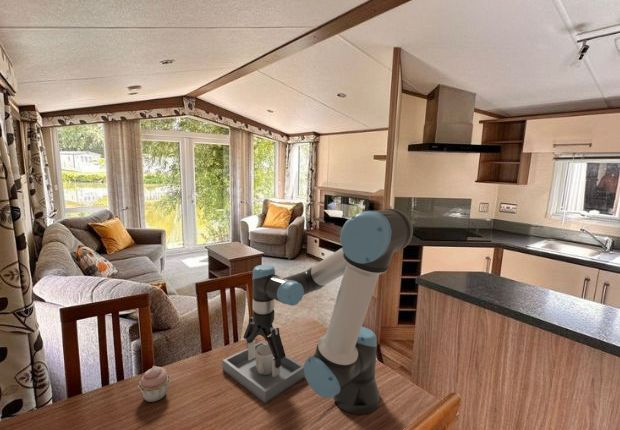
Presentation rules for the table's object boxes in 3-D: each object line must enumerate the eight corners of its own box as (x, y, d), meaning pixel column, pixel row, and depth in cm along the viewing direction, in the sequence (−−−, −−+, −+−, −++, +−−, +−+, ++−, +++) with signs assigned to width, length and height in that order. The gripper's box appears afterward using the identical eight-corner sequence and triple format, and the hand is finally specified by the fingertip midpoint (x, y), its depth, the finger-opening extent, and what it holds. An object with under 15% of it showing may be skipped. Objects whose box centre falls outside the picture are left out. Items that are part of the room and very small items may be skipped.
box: (305, 377, 110) (305, 366, 110) (265, 403, 97) (265, 391, 97) (261, 350, 126) (261, 341, 126) (222, 370, 113) (222, 359, 113)
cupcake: (157, 382, 106) (156, 354, 105) (177, 391, 102) (176, 362, 101) (131, 399, 98) (130, 369, 96) (151, 410, 94) (150, 379, 92)
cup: (270, 384, 105) (270, 362, 104) (248, 381, 107) (248, 359, 106) (280, 365, 116) (280, 345, 115) (259, 362, 117) (259, 342, 116)
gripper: (296, 317, 103) (295, 377, 106) (250, 296, 120) (250, 348, 123) (279, 325, 98) (278, 388, 100) (233, 302, 114) (234, 356, 117)
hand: (263, 366), depth 112 cm, fingers open, 13 cm apart
